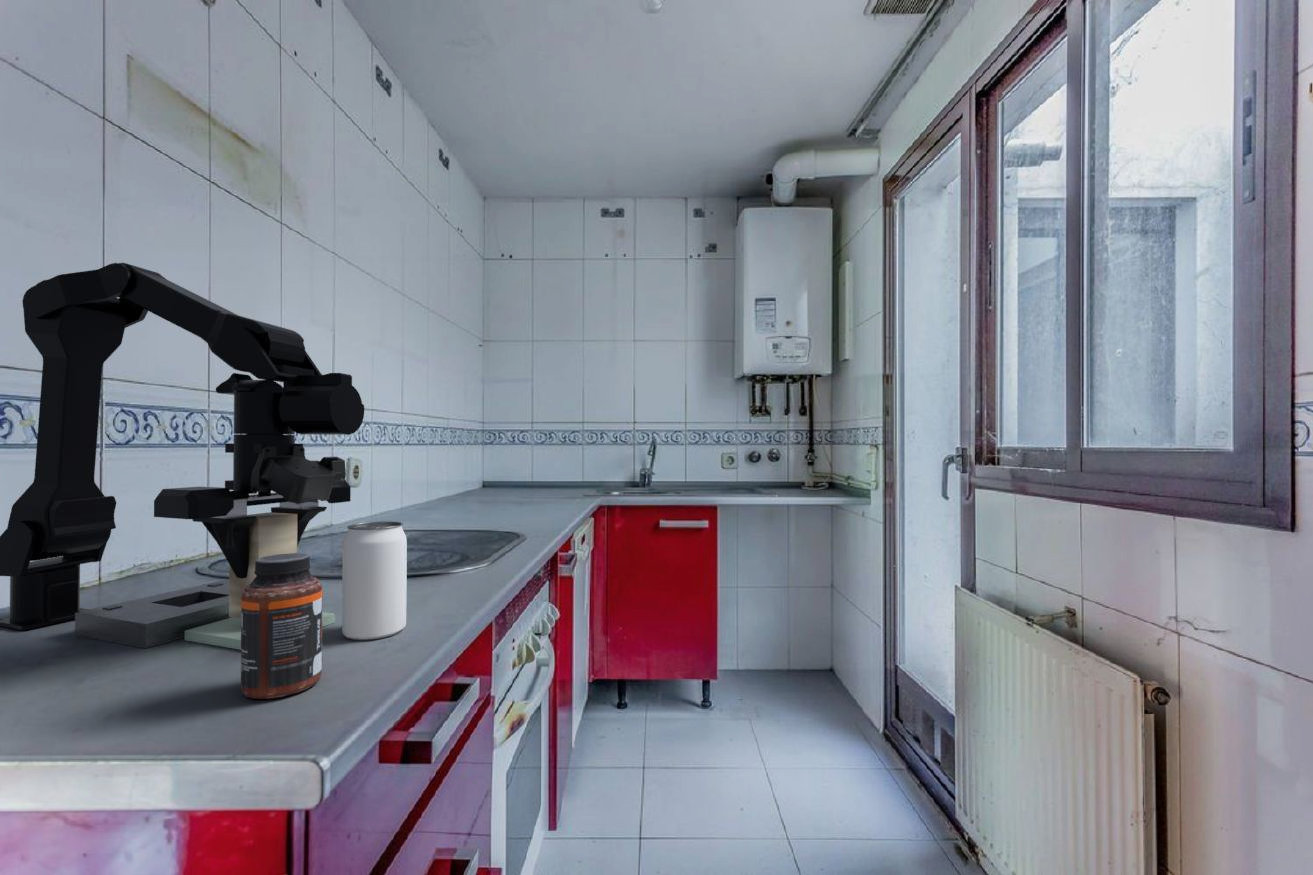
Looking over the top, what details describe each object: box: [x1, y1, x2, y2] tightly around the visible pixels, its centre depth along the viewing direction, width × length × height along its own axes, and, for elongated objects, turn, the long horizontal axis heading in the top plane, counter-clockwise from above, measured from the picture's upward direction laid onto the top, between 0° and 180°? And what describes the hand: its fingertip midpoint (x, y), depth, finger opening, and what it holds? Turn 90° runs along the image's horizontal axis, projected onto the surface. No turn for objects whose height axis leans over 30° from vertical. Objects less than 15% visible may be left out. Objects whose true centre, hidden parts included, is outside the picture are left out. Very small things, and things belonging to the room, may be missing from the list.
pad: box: [184, 611, 336, 651], centre depth 65 cm, size 10×10×1 cm
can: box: [341, 520, 408, 642], centre depth 64 cm, size 6×6×12 cm
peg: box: [228, 511, 298, 619], centre depth 65 cm, size 4×4×11 cm
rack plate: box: [74, 579, 232, 649], centre depth 69 cm, size 12×16×3 cm
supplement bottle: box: [240, 552, 323, 700], centre depth 50 cm, size 6×6×11 cm
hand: (263, 573), depth 65 cm, fingers closed on peg, 4 cm apart
